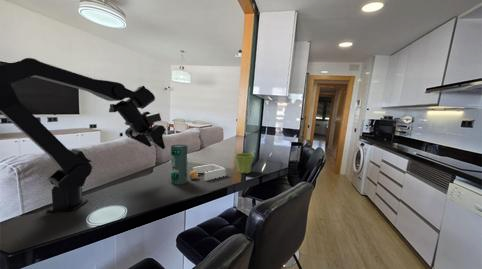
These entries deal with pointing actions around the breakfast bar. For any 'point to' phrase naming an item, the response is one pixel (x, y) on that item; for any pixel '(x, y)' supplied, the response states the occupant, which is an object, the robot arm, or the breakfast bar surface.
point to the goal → (211, 171)
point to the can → (178, 164)
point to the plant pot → (244, 162)
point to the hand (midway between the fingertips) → (157, 147)
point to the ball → (193, 174)
